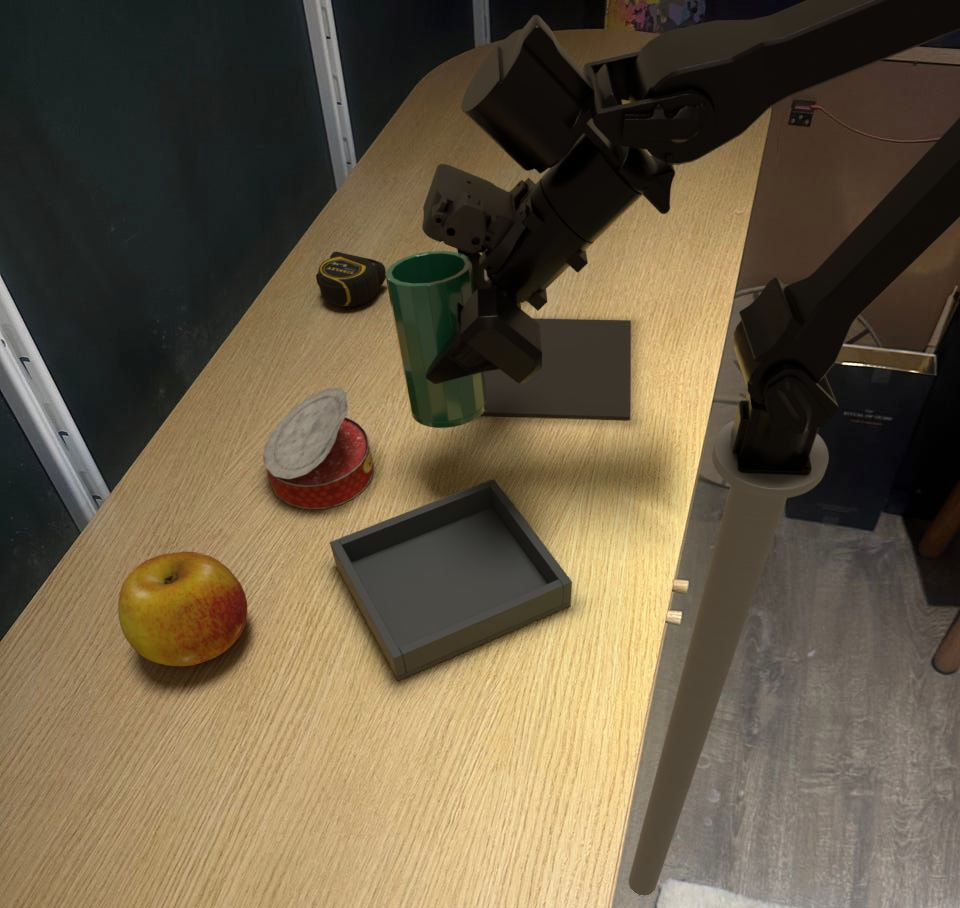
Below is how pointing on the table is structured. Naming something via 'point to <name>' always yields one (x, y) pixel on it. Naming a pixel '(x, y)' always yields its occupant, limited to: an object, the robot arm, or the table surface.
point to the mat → (570, 374)
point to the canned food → (318, 453)
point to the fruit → (182, 608)
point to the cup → (433, 334)
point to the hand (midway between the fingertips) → (430, 351)
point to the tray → (450, 577)
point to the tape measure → (349, 279)
